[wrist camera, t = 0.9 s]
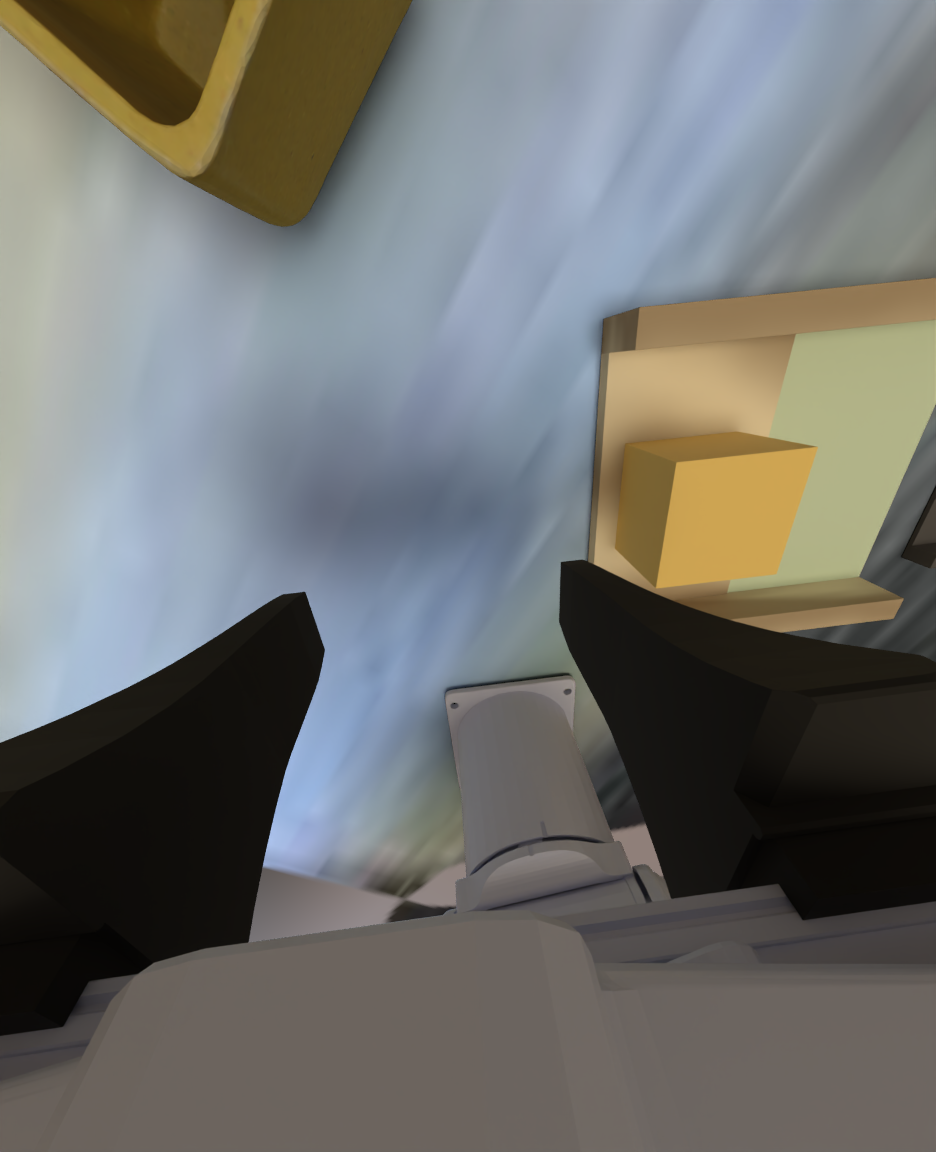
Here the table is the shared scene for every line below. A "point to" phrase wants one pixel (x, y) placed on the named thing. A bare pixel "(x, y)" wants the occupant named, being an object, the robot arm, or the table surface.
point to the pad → (850, 440)
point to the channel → (728, 419)
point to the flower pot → (221, 83)
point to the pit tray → (924, 538)
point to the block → (709, 506)
